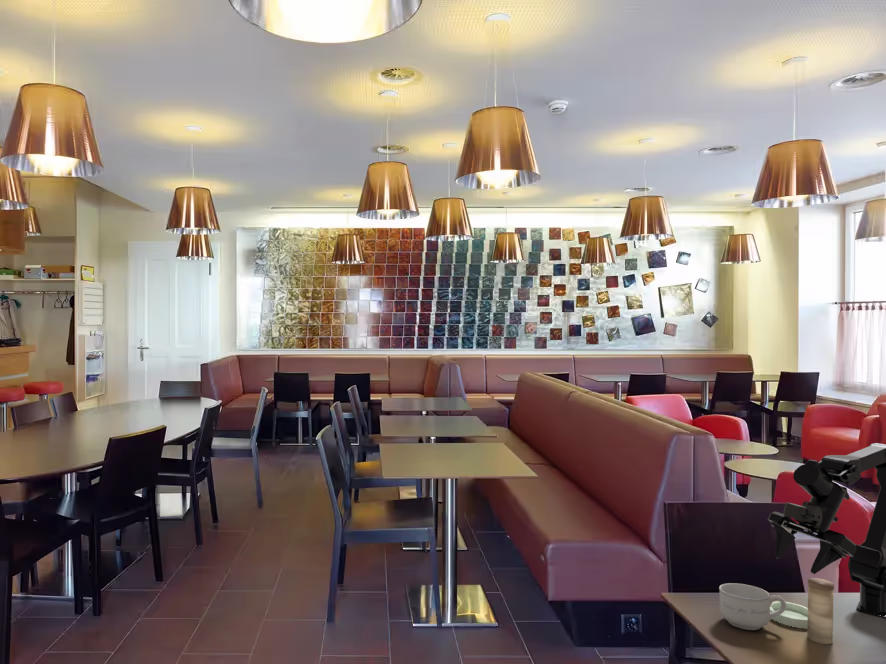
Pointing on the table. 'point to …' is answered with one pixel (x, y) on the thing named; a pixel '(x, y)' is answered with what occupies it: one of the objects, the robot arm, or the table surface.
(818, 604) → the canister
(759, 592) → the teacup
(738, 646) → the table surface
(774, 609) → the bowl
